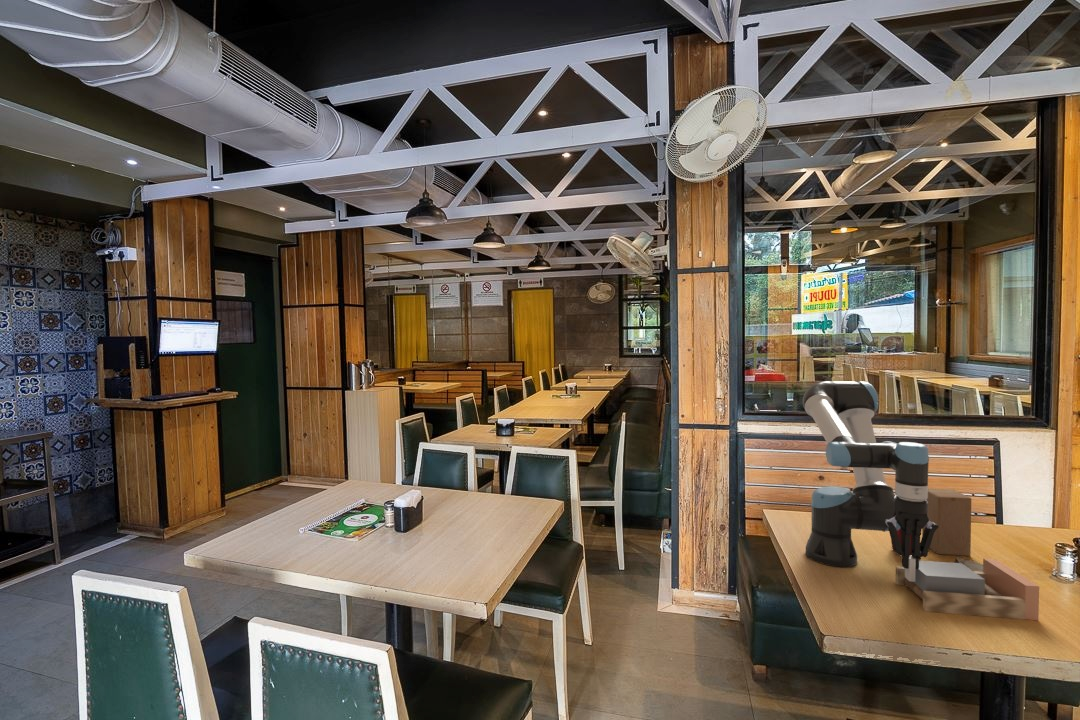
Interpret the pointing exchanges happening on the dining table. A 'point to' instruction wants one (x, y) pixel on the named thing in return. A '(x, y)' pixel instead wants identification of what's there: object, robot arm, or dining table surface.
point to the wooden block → (950, 521)
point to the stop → (1012, 586)
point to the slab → (948, 578)
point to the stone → (970, 564)
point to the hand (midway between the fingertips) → (909, 579)
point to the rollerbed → (966, 600)
